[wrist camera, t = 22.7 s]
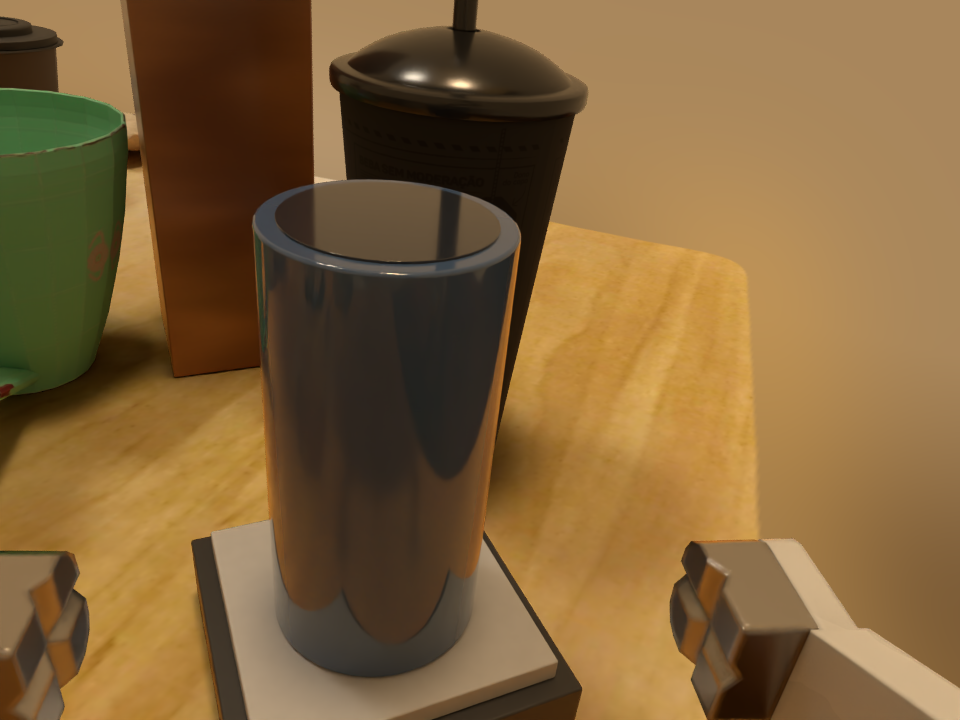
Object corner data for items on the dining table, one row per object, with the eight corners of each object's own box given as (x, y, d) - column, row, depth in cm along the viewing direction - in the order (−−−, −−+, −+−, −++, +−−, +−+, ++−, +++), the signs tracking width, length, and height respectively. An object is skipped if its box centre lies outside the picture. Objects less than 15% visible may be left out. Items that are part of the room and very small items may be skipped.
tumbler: (300, 707, 16) (284, 284, 11) (257, 549, 20) (230, 180, 15) (506, 642, 18) (570, 257, 13) (432, 509, 22) (459, 172, 17)
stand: (174, 378, 31) (73, -414, 19) (161, 313, 36) (73, -359, 24) (317, 358, 34) (306, -357, 22) (288, 300, 38) (266, -317, 26)
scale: (245, 866, 16) (237, 795, 15) (197, 590, 22) (188, 523, 21) (570, 739, 19) (587, 672, 18) (450, 529, 25) (456, 467, 24)
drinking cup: (558, 426, 31) (663, -161, 21) (477, 539, 25) (569, -212, 15) (399, 371, 34) (424, -176, 24) (289, 461, 28) (260, -225, 17)
